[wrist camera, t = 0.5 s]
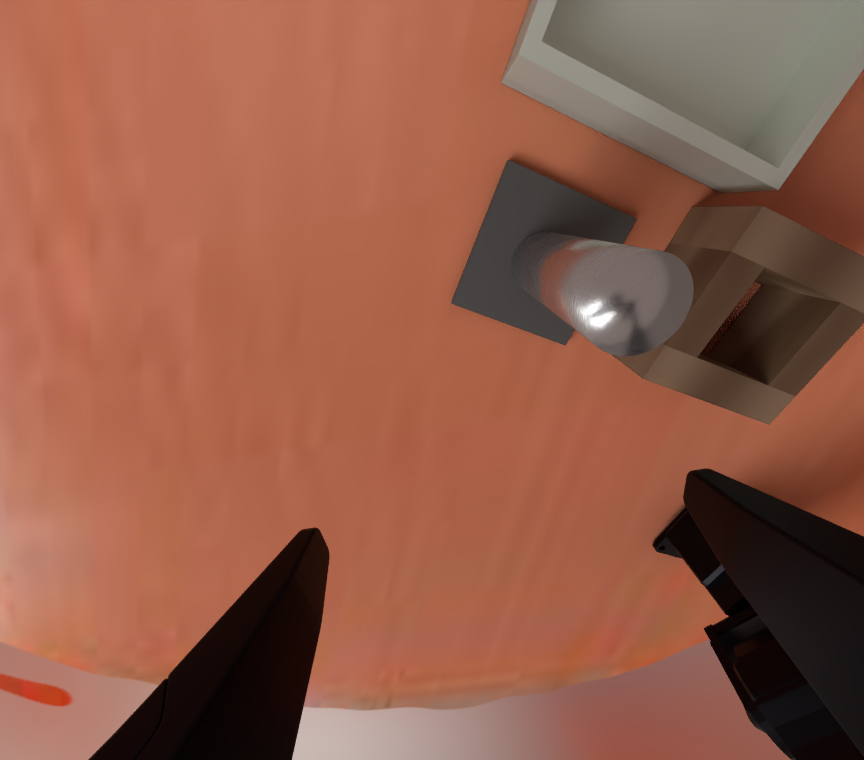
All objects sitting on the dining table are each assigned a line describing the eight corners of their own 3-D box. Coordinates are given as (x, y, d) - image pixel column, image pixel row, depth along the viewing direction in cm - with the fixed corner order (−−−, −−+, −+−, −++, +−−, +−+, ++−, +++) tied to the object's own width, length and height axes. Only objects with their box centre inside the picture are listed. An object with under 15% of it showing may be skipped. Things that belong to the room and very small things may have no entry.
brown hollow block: (812, 264, 19) (905, 277, 15) (712, 389, 22) (769, 424, 18) (692, 206, 17) (763, 205, 14) (604, 349, 20) (642, 378, 17)
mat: (632, 218, 17) (636, 218, 17) (562, 342, 20) (565, 345, 20) (507, 161, 16) (508, 160, 16) (451, 301, 19) (451, 303, 19)
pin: (580, 244, 18) (716, 273, 9) (551, 300, 19) (650, 369, 11) (527, 221, 17) (624, 232, 9) (501, 281, 18) (565, 337, 10)
